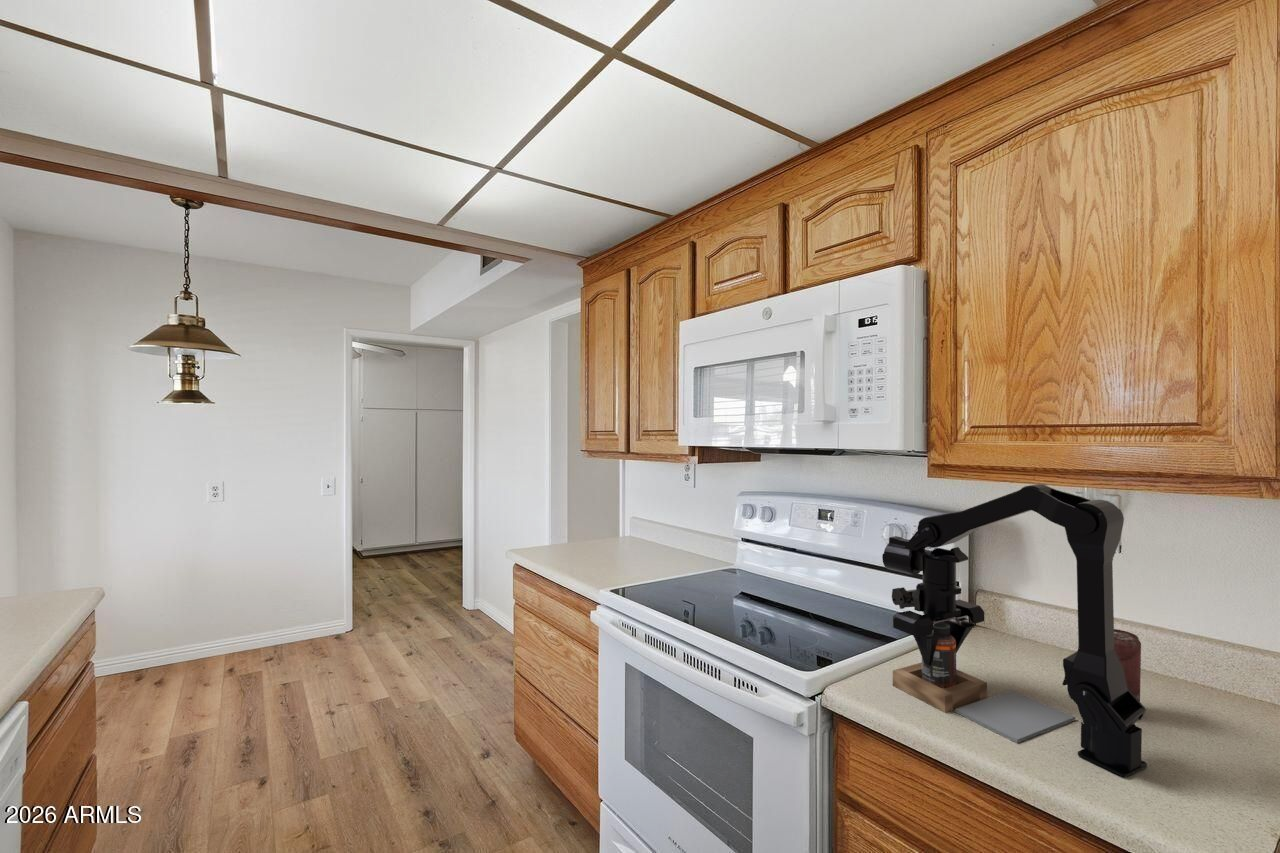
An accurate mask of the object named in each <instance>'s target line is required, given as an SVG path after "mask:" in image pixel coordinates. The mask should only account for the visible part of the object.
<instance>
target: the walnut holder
mask: <svg viewBox="0 0 1280 853" xmlns="http://www.w3.org/2000/svg"><path fill="white" fill-rule="evenodd" d="M892 686H893V687H894V688H896V689H898V690H901V691H902V692H905V693H907V694H908V695H910V696H912V697H914V698H916V699H918V700H920V701H922V702H924V703H926V704H928V705H930V706H931V707H933V708H935V709H938V710H939V711H941V712H943V713H948V712H950V711H955V709H957V708H960V707H963V706H966V705H968V704H971V703H974V702H977V701H980V700H983V699H986V698H988V682H986V681H984V680H982V679H980V678H978V677H975V676H973V675H971V674H968V673H966V672H964V671H962V670H960V669H957V668H956V685H954V686H950V687H947V688H940V687H938V686H936V685H934V684H932V683H929V682H927V681H925V680H923V679H922V662H919V663H915V664H911V665H908V666H905V667H901V668H898V669H893V670H892Z"/></svg>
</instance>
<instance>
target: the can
mask: <svg viewBox="0 0 1280 853" xmlns="http://www.w3.org/2000/svg"><path fill="white" fill-rule="evenodd" d="M1114 649H1115V653H1116V655H1117V657H1118V659H1119V661H1120V663H1121V665H1122V667H1123V670H1124V674H1125V679H1126V683H1127V688H1128V689H1129V691H1130V692H1131V693H1132V694H1133V695H1134V696H1135V697H1136V698H1137V699H1138V700H1139V702H1140V703H1141V674H1142V673H1141V672H1142V670H1141V668H1142V667H1141V665H1142V663H1141V662H1142V642H1141V641H1140V639H1139V637H1138V635H1136V634H1134V633H1132V632H1129V631H1127V630H1121V629H1115V628H1114Z"/></svg>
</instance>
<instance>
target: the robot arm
mask: <svg viewBox="0 0 1280 853" xmlns="http://www.w3.org/2000/svg"><path fill="white" fill-rule="evenodd" d="M1031 511H1032V512H1034V513H1037V514H1038V515H1040V516H1041V517H1043V518H1045V519H1046V520H1048V521H1049V522H1052V523H1054V525H1055V524H1056V525H1058V526H1061V527H1063V528H1064V532H1065V535H1066V540H1067V543H1068V544H1069V547H1070V548H1071V551H1072V553H1073V555H1074V556H1075V559H1076V592H1077V594H1076V595H1077V596H1076V597H1077V636H1078V638H1077V639H1078V644H1077V645H1078V648H1077V651H1075V652H1073V653H1072V654H1070V655H1068V656H1067V657H1064V658H1063V659H1062V665H1063V666H1062V667H1063V671H1064V679H1063V681H1062V686H1066V687H1067V688H1066V690H1067V694H1068V697H1069V699H1070V700H1072V701H1073V702H1074V703H1075V704H1076V705H1077V708H1078V711H1079V714H1080V716H1081V719H1082V722H1080V747H1081V748H1082V749H1080V750H1078V751H1077V756H1079V757H1080V758H1081V759H1084V760H1087V761H1089V762H1091V763H1093V764H1095V765H1098V767H1101V768H1103V769H1105V770H1107V771H1109V772H1111V773H1113V774H1116V775H1118V776H1120V777H1122V778H1128V777H1129V776H1130V777H1131V775H1133V774H1136V773H1137V772H1139V771H1142V770H1143V769H1146V768H1147V767H1148V763H1147V762H1146V761H1144V760H1142V748H1143V747H1142V744H1143V743H1142V742H1143V741H1142V740H1143V739H1142V738H1143V737H1142V736H1143V734H1142V733H1143V729H1142V728H1141V727H1140V726H1137V725H1136V723H1138V722H1140V721H1141V720H1142V718H1143V717H1144V715H1145V714H1146V711H1147V708H1146V707H1145V706H1144V705H1143V704H1142V702H1141V701H1140V702H1139V700H1138V699H1137V698H1136V697H1135V696H1134V695H1133V694H1132V693H1131V692H1130V691H1129V689H1128V688H1127V683H1126V679H1125V674H1124V670H1123V667H1122V665H1121V663H1120V661H1119V659H1118V657H1117V655H1116V653H1115V649H1114V629H1115V627H1114V626H1115V622H1114V621H1115V618H1114V617H1115V616H1114V611H1115V610H1114V583H1113V582H1114V580H1113V579H1114V578H1113V575H1114V574H1113V569H1114V568H1113V560H1114V557H1115V554H1116V551H1117V549H1118V547H1119V544H1120V542H1121V536H1122V532H1123V528H1124V524H1125V523H1124V521H1125V518H1124V514H1123V511H1122V509H1120V508H1118V506H1116V505H1115V504H1114V503H1112V502H1110V501H1109V500H1104V499H1092V500H1091V499H1089V498H1087V497H1083V496H1080V495H1076V494H1073V493H1069V492H1065V491H1061V490H1058V489H1055V488H1053V487H1050V486H1049V485H1046V484H1041V483H1038V484H1037V483H1036V484H1031V485H1026V486H1022V487H1021V489H1018V490H1016V491H1012V492H1010V493H1008V494H1005V495H1002V496H1000V497H997V498H994V499H992V500H989V501H985V502H983V503H980V504H978V505H974V506H972V507H969V508H966V509H964V510H958V511H953V512H946V513H941V514H936V515H931V516H927V517H923V518H921V519H920V520H919V521H918V525H917V530H916V531H915V533H914V534H913V535H912V536H911V538H910V539H908V538H903V537H901V536H896V535H894V536H890V537H889V538H888V543H887V545H886V546H885V547H884V551H883V553H882V564H883V567H885V568H886V569H887V570H891V571H894V572H899V573H904V574H908V575H912V576H917V575H919V574H920V573H922V582H920V583H917V584H916V587H915V588H916V589H908V590H907V589H906V588H905V587H895V588H892V591H891V601H892V603H893V605H895V606H898V607H899V609H901V610H903V609H906V608H913V609H914V611H916V612H914V611H911V610H905V611H901V612H896V613H895V614H894V615H893V616H892V628H893V629H896V630H898V631H900V632H904V633H906V634H908V635H911V636H912V637H913V638H914V640H915V642H916V645H917V647H918V649H919V652H920V655H921V660H922V659H923V661H924V664H926V665H928V666H930V665H931V663H932V660H933V657H934V653H935V649H936V646H937V642H938V639H939V634H937V633H935V632H933V626H934V624H935V623H939V622H945V623H947V624H949V625H950V635H952V636H953V637H954V638H955V641H956V654H957V653H958V652H959V650H960V648H961V646H962V644H964V641H965V640H966V638H967V637H968V636H969V634H970V632H971V631H972V629H974V628H975V627H976V625H975V624H979V623H983V622H985V611H984V610H983V608H982V606H980V605H978V604H975V603H972V602H970V601H969V602H968V601H965V600H963V599H957V595H961V594H962V587H958V586H957V563H963V562H965V561H968V560H969V556H967V554H966V553H964V552H963V551H962V550H961V549H960V547H959V546H957V547H952V548H950V549H946V548H940V547H943V546H948V545H952V544H955V543H957V542H959V541H960V540H962V539H964V538H966V537H968V536H969V535H971V534H972V533H973V532H974V531H976V530H978V529H980V528H983V527H986V526H990V525H991V524H995V523H998V522H1000V521H1003V520H1004V521H1005V520H1007V519H1010V518H1013V517H1016V516H1018V515H1021V514H1025V513H1028V512H1031ZM926 548H927V549H926ZM928 548H933V550H930V549H928ZM917 612H922V614H920V613H917ZM968 617H969V618H968ZM969 620H970V621H971V622H972V623H971V622H969Z"/></svg>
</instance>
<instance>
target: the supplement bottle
mask: <svg viewBox="0 0 1280 853" xmlns="http://www.w3.org/2000/svg"><path fill="white" fill-rule="evenodd" d="M933 632H935V633H937V634H939V639H938V642H937V646H936V649H935V653H934V657H933V660H932V663H931V665H930V666H928V665H926V664H924V661H923V659H922V658H921V663H922V679H923V680H925V681H927V682H929V683H932V684H934V685H936V686H938V687H940V688H942V689H944V688H947V687H950V686H954V685H956V669H957V653H956V641H955V638H954V637H953V636H952V635H950V625H949V624H947V623H945V622H939V623H935V624H934V626H933Z"/></svg>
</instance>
